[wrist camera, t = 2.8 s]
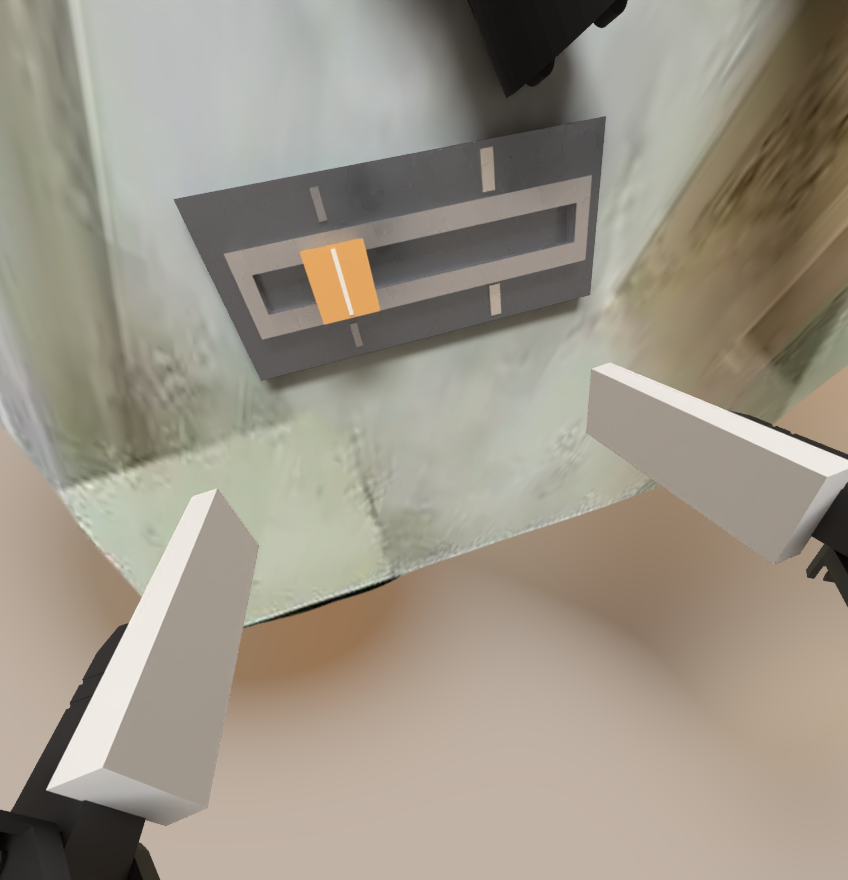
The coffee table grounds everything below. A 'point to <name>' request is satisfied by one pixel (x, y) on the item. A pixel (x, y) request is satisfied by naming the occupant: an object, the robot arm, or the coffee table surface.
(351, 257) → the fader knob
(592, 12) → the black hourglass-shaped sleeve
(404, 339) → the fader panel
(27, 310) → the coffee table surface
